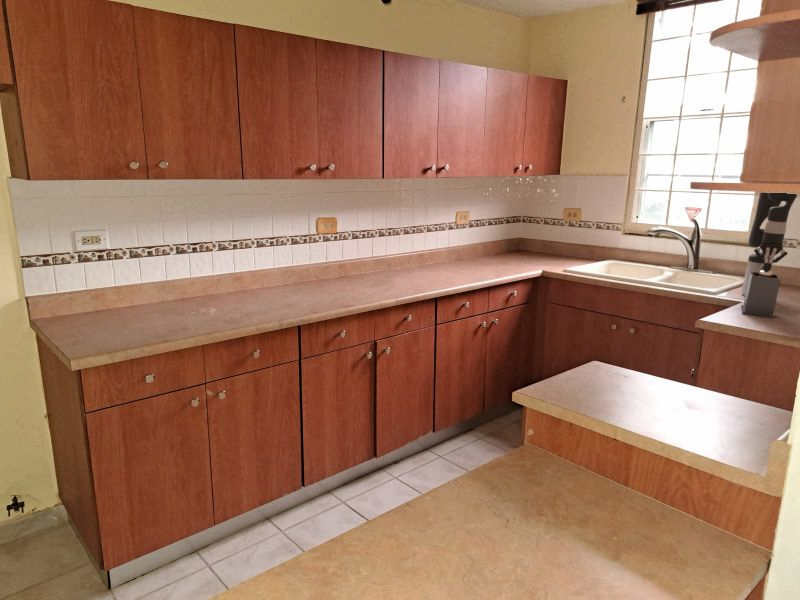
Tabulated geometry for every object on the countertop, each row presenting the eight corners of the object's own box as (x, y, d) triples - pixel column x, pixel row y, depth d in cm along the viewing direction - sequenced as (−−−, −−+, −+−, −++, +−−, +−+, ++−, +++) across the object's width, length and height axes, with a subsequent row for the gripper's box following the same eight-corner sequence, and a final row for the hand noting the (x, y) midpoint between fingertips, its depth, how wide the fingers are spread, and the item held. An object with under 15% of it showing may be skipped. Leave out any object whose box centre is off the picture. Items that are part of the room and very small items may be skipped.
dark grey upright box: (741, 307, 264) (748, 271, 259) (771, 312, 259) (779, 274, 254) (742, 314, 253) (750, 276, 249) (774, 318, 248) (783, 279, 244)
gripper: (791, 232, 247) (783, 272, 251) (756, 229, 252) (748, 267, 257) (794, 234, 240) (785, 275, 245) (757, 231, 246) (749, 270, 251)
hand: (766, 271), depth 251 cm, fingers closed
